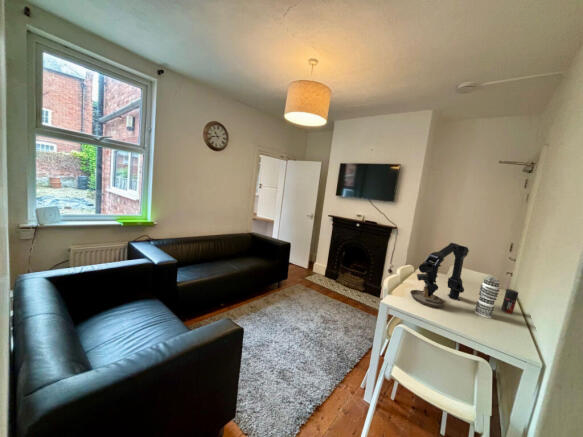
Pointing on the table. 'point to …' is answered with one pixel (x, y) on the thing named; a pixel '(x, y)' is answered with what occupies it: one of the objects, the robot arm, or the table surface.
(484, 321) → the table surface
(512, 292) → the deodorant
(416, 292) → the plant saucer
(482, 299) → the decorative candle
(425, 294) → the walnut block
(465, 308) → the table surface
